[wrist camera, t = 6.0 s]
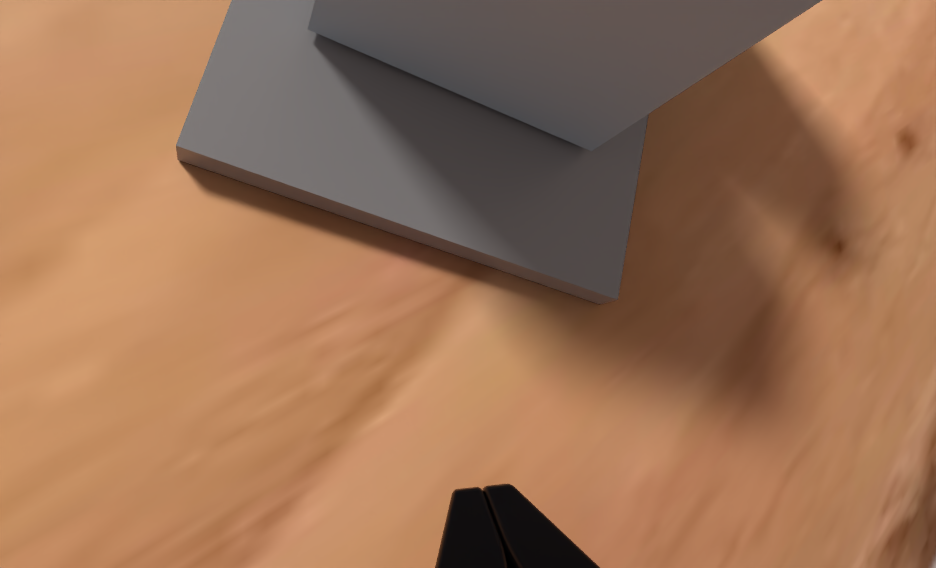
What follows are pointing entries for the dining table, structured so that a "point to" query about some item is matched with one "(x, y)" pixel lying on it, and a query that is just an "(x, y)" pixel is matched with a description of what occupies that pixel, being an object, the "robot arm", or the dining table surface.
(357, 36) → the blue-gray rectangular block
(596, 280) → the plate
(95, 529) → the dining table surface
